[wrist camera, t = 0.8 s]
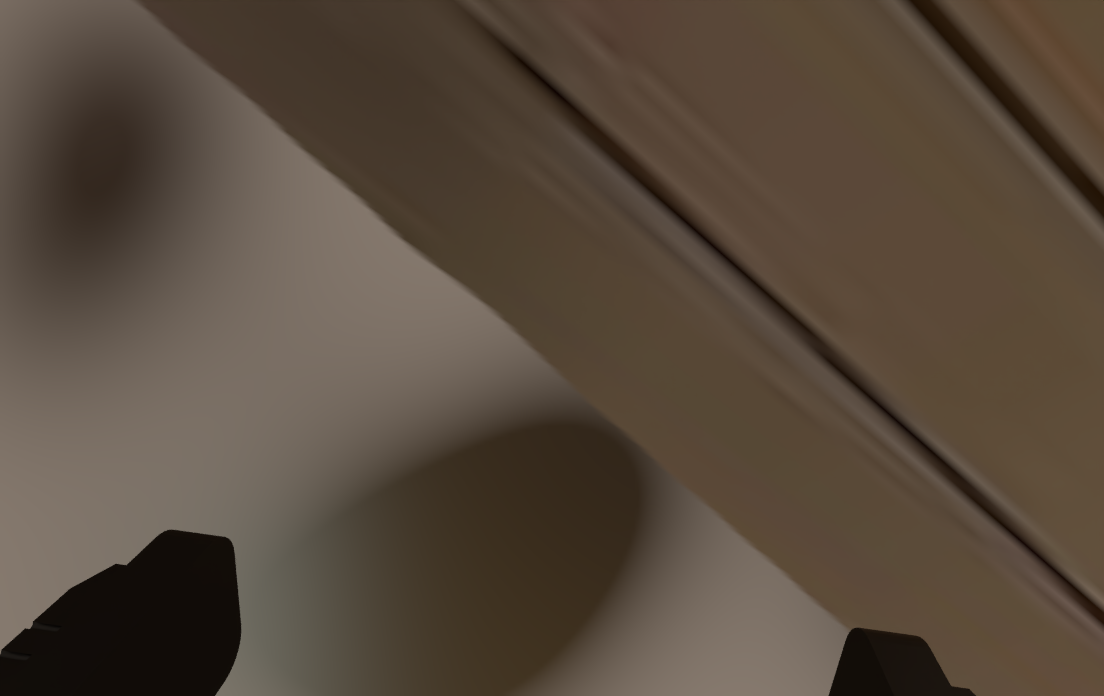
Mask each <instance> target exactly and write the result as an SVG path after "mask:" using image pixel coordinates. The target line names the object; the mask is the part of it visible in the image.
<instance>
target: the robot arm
mask: <svg viewBox="0 0 1104 696" xmlns="http://www.w3.org/2000/svg"><path fill="white" fill-rule="evenodd" d="M240 639H241V618H240V607H239V597H238V585H237V575H236V564H235V553H234V547H233V545H232V542H231V541H230V540H229V539H228V538H226V537H222V536H214V535H207V534H200V533H193V532H186V531H179V530H167V531H164V532H163V533H161V534H160V535H158V536H157V537H156V538H155V539H154V540H153V541H152V542H151V543H150V544H149V545H148V546H146V547H145V548H144V549H143V550H142V551H141V552H140V553H139V554H138V555H137V556H136V557H135V558H134V559H133V560H132V561H131V562H129V563H128V564H127V565H120V564H115V565H113V566H111V567H109V568H107V569H106V570H104V571H102V572H100V573H98V574H96V575H94V576H93V577H91V578H89V579H87V580H85V581H84V582H82V583H80V584H78V585H76V586H74V587H72V588H71V589H69V590H68V591H67V592H66V593H65V594H64V595H62V596H61V597H60V598H59V599H58V600H57V601H56V602H55V603H53V604H52V605H51V606H50V607H49V608H48V609H47V610H46V611H45V612H44V613H42V614H41V615H40V616H39V617H38V618H37V619H35V620H34V621H33V625H32V627H31V628H30V629H24V630H23V631H22V632H21V633H20V634H19V635H18V636H16V637H15V638H14V639H13V640H12V641H11V642H10V643H9V644H7V645H6V646H5V647H4V648H3V649H2V651H1V654H0V696H215V695H216V693H217V692H218V691H219V689H220V688H221V686H222V685H223V683H224V682H225V680H226V678H227V677H228V675H229V673H230V671H231V669H232V667H233V664H234V662H235V659H236V656H237V653H238V649H239V645H240ZM829 696H976V695H975V694H974V693H973V692H972V691H971V690H970V689H966V688H959V687H952V686H951V685H950V683H949V682H948V680H947V678H946V676H945V674H944V673H943V671H942V669H941V667H940V665H939V663H938V662H937V660H936V658H935V656H934V654H933V653H932V651H931V649H930V647H929V646H928V644H927V643H926V642H925V641H924V640H923V639H922V638H921V637H918V636H914V635H907V634H900V633H893V632H886V631H878V630H871V629H864V628H854V629H852V630H851V631H850V632H849V634H848V636H847V638H846V641H845V644H844V647H843V651H842V654H841V657H840V660H839V664H838V667H837V670H836V674H835V677H834V680H833V683H832V686H831V689H830V693H829Z"/></svg>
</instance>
